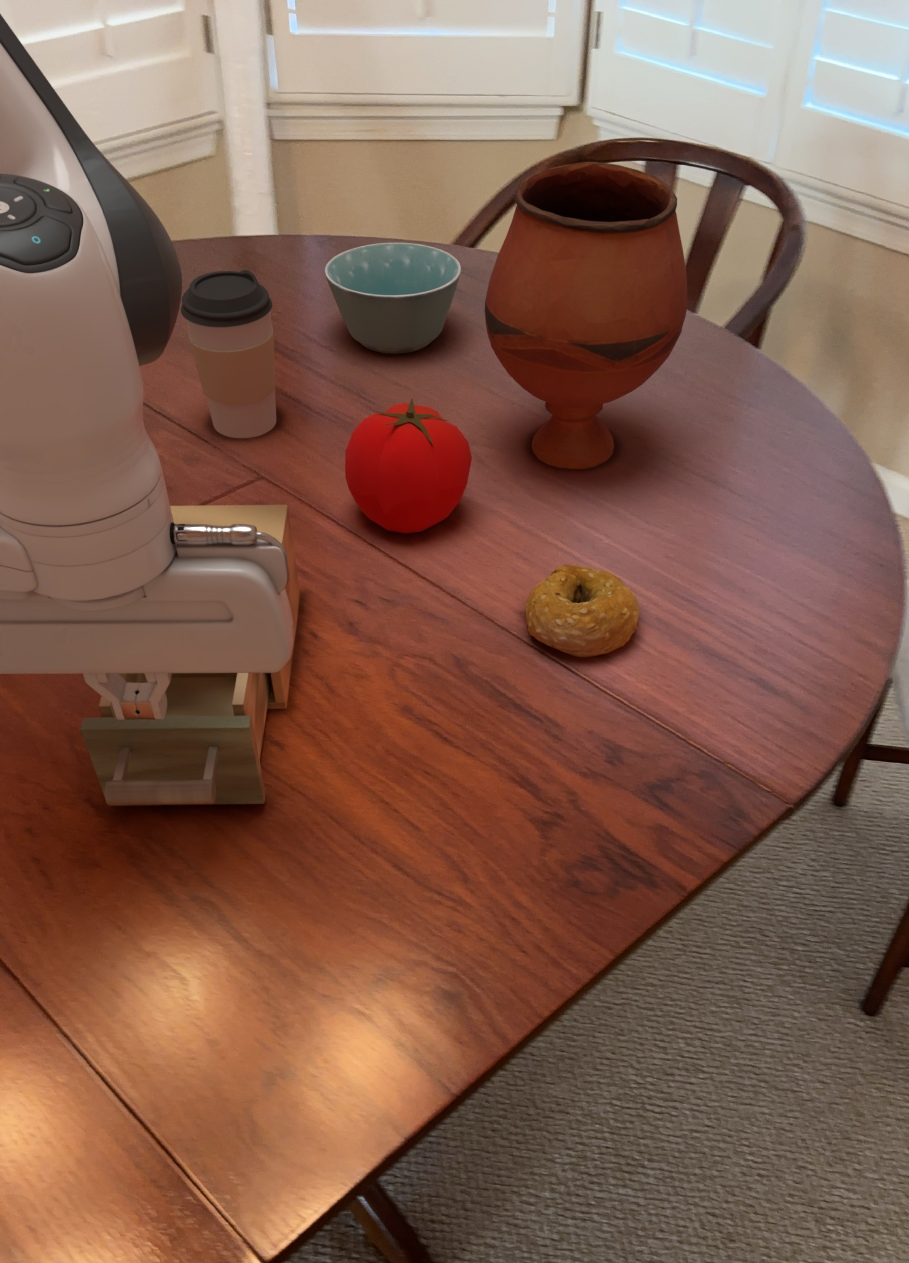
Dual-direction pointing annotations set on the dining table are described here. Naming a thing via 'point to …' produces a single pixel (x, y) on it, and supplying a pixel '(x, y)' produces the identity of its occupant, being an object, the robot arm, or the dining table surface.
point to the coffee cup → (233, 350)
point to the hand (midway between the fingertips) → (143, 712)
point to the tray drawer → (185, 743)
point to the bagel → (582, 611)
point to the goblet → (586, 298)
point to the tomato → (407, 467)
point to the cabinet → (266, 521)
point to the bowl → (393, 293)
